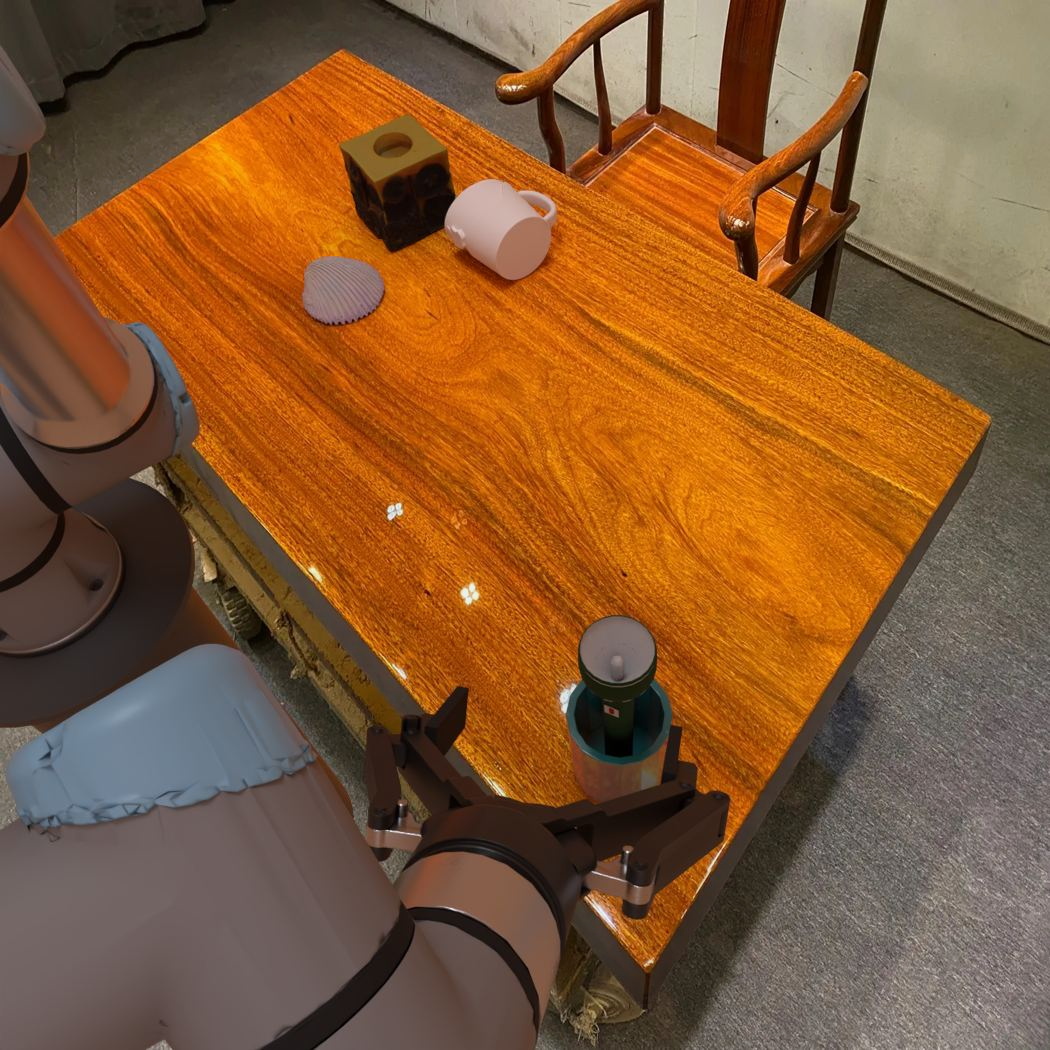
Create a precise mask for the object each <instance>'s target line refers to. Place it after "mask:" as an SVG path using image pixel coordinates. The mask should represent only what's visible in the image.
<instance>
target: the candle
mask: <svg viewBox="0 0 1050 1050" xmlns="http://www.w3.org/2000/svg"><path fill="white" fill-rule="evenodd" d="M338 147H339V149H340V152H341V155H342V159H343V162H344V169H345V171H346V173H347V174H346V175H347V178H348V180H349V187H350V194H351V197H352V200H353V202H354V209H355V212H356V214H357V216H358V217H359V218H360V219H361V220H362V221H363V222H364V224H365V225H366V227H368V228H369V230H371V232H372V233H373V235H375V237H377V238H381V239H382V241H383V243H384V244H385V247H386V248H387V250H388V251H390V252H392V253H393V252H395V251H397V250H399V249H402V248H404V247H406V246H408V245H410V244H411V245H412V243H414V242H416V241H418V240H420V239H423V238H424V237H426V236H427V235H431V234H432V233H434V232H436V231H438V230H440V229H441V228H443V227H445V218H446V214H447V212H448V210H449V208H450V206H451V204H452V203H453V202H454V200H455V199H456V198H457V195H456V191H455V187H454V183H453V175H452V172H451V170H450V168H451V164H450V160H449V159H450V158H449V152H448V151H449V149H448V148H447V147H446V146H445V145H444V144H443V143H442V142H441V141H440V140H438V139H437V138H436V137H435V136H433V135H432V134H431V133H430V132H429V131H428V130H426V128H425V127H423V125H422V124H421V123H420V122H419V121H417V120H416V118H414V117H413V116H412V115H411V114H408V113H406V114H403V115H401V116H399V117H397V118H394V119H393V120H391V121H389V122H386V123H384V124H382V125H378V126H377V127H375V128H372V129H371V130H368V131H366V132H364V133H362V134H360V135H358V136H355V137H353V138H350V139H348V140H346V141H343V142H340V143H339V145H338Z"/></svg>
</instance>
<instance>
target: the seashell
mask: <svg viewBox="0 0 1050 1050" xmlns="http://www.w3.org/2000/svg"><path fill="white" fill-rule="evenodd" d="M303 285H304V287H303V291H302V294H301V297H302V298H301V300H302V305H303V308H304V309H305V312H307V313H308V315H310V317H311V318H313V319H314V320H317V321H318V322H321V323H322V324H325V325H327V324H329V325H330V326H333V323H334V325H336V326H339V322H340V324H342V325H343V326H345V325H346V322H347V323H348V324H352V321H353V320H354V322H355V323H356V322H358V319H359V318H360V319H363V318H364V316H365V317H368V315H369V313H370V314H372V313H373V311H374V310H377V307H379V306H380V302H381V300H382V298H383V295H384V291H386V289H385V283H384V280H383V278H382V276H381V274H380V273H379V271H378V269H376V267H375V266H373V265H372V264H371V265H370V264H368V262H364V261H363V260H358V259H355V258H349V257H343V256H322V257H319V258H316V259H314V260H313V261H311V262H310V263H309V264H307V266H306V267H305V270H304V273H303Z"/></svg>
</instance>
